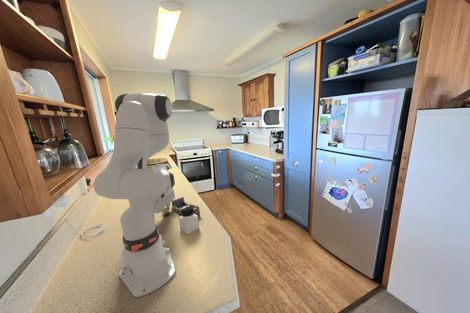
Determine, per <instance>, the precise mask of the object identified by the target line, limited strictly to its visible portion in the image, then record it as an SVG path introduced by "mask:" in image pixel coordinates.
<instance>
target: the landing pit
mask: <svg viewBox="0 0 470 313" xmlns="http://www.w3.org/2000/svg"><path fill="white" fill-rule="evenodd" d="M170 204H171V208H172V209H173V210H174V211H175V212H177V214H179V213H178V208H180V209H182V208H183V207H185V206H190V205H189V204H190V203H188V202H186V200H185V197H184V196H181V197H179V198H176V199H175V198H174V199H173V200H172V201H171V202H170Z"/></svg>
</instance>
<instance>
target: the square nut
mask: <svg viewBox="0 0 470 313" xmlns="http://www.w3.org/2000/svg"><path fill="white" fill-rule="evenodd" d="M168 216H171V211H170V210H169V211H168V213H166V214H165V215H162V217H164V218H166V217H168Z"/></svg>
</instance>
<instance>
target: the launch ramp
mask: <svg viewBox="0 0 470 313" xmlns="http://www.w3.org/2000/svg"><path fill="white" fill-rule="evenodd" d="M188 204H189V205H190V206H192V207H193V209H194V214H195V215H197V216H198V218H199V217H200V216H201V213H200V211H201V210H200V207H199V206H198V205H195V204H191V203H188ZM177 214H178V215H179V216H182V213H181V209H180V208H178V213H177Z"/></svg>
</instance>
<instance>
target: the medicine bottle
mask: <svg viewBox="0 0 470 313" xmlns="http://www.w3.org/2000/svg"><path fill="white" fill-rule="evenodd" d="M181 213H182V214H181V215H179V217H178V222H179V229H180V231H182V232H184V233H185V234H186V235H190V234H191V233H193V232H195V231H197V230H198V229H199V228H200V224H199V223H200V222H199V221H200V220H199V217H198V216H197V215H195V214H194V209H193V207H192V206H185V207H183V208H182V209H181Z"/></svg>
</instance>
